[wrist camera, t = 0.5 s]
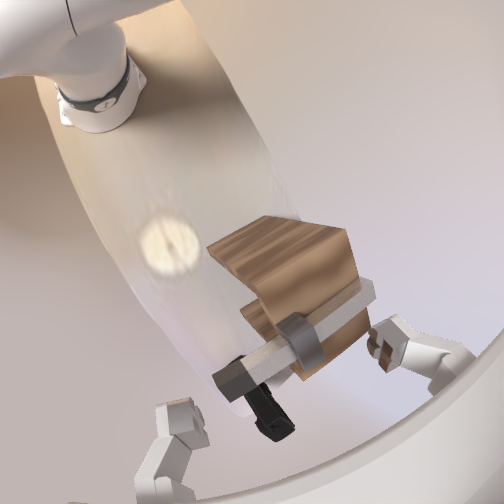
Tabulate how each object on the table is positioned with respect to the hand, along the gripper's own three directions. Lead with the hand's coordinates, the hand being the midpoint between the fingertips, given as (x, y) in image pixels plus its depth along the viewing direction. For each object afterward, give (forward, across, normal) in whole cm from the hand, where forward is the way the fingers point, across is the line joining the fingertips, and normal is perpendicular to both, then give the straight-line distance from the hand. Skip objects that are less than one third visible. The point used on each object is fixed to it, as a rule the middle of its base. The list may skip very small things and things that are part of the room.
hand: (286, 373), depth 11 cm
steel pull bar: (+17, -6, +17) cm, 25 cm away
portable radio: (+37, +2, +45) cm, 58 cm away
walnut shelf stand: (+43, -8, +22) cm, 49 cm away
